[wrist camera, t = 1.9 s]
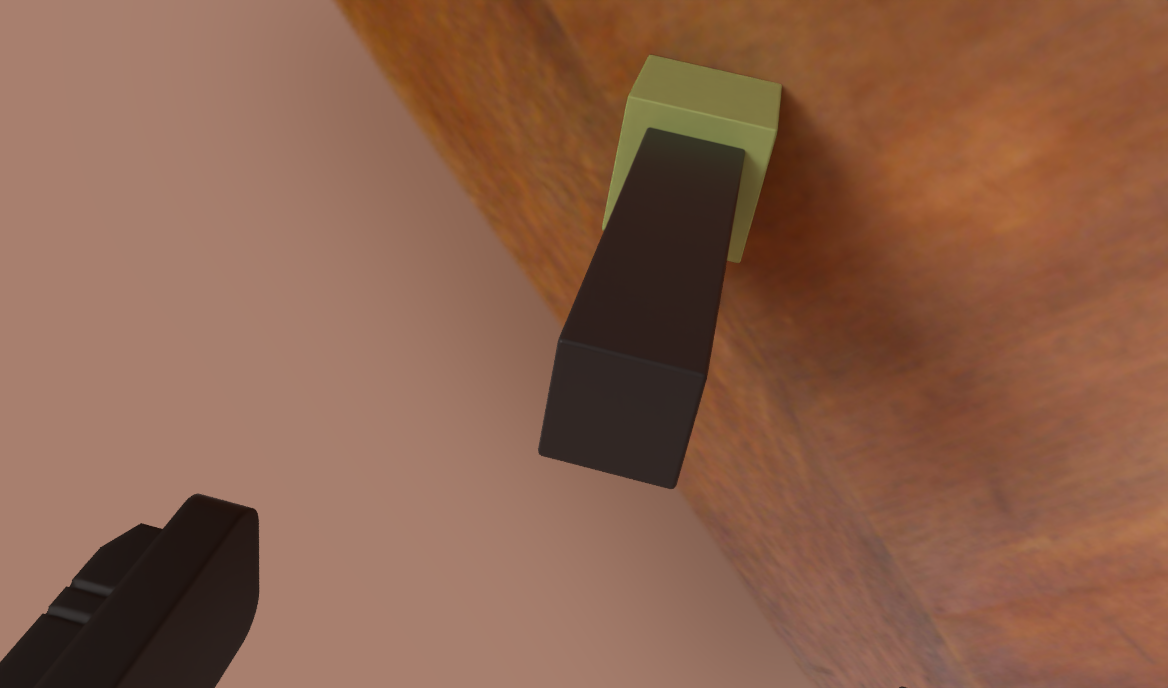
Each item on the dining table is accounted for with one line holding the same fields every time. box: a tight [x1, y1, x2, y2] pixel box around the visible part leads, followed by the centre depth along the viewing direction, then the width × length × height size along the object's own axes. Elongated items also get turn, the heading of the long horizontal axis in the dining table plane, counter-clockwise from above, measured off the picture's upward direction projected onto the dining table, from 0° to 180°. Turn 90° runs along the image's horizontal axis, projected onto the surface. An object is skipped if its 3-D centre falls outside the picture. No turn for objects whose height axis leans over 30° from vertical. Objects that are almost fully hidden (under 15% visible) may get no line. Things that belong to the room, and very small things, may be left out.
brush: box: [538, 55, 782, 489], centre depth 22 cm, size 4×4×14 cm
